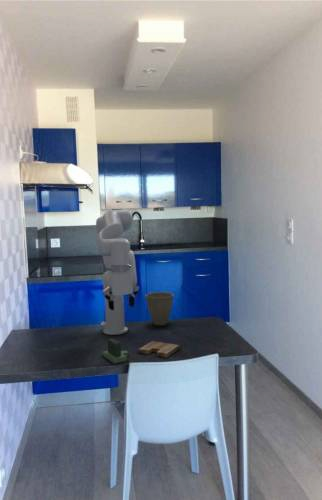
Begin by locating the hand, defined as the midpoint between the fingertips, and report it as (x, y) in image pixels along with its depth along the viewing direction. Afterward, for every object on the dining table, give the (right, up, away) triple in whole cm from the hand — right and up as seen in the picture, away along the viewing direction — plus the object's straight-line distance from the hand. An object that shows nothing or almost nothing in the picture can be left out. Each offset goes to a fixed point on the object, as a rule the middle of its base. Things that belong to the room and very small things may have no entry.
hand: (121, 307), depth 195 cm
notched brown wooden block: (+16, -20, +5) cm, 26 cm away
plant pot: (+17, -15, +48) cm, 53 cm away
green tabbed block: (-2, -21, -1) cm, 21 cm away
